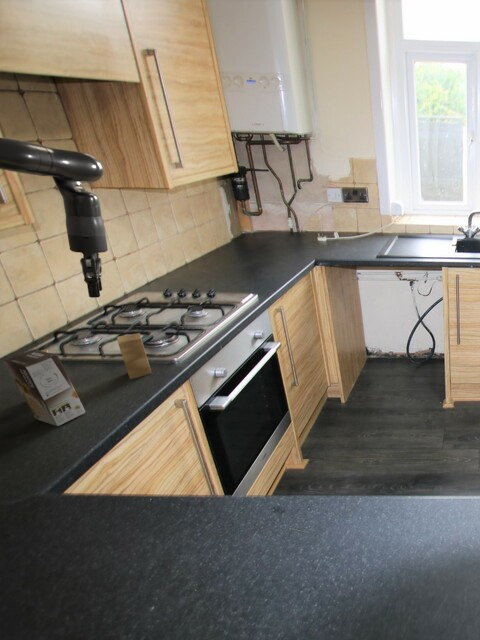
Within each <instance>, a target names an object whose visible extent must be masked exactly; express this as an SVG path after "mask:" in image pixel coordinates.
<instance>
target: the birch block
mask: <svg viewBox="0 0 480 640" xmlns="http://www.w3.org/2000/svg"><path fill="white" fill-rule="evenodd" d="M116 340H117V344H118V347H119V350H120V353H121V356H122V360H123V363H124V365H125V369H126V372H127V375H128V379H129V380H133V379H136V378H140V377H143V376H147V375H151V374H152V369H151V366H150V363H149V359H148V356H147V353H146V349H145V345H144V342H143V340H142V337H141V333H140V332H138V333H132V334H127V335H126V334H125V335H121V336H116Z"/></svg>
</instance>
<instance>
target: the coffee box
mask: <svg viewBox="0 0 480 640" xmlns="http://www.w3.org/2000/svg"><path fill="white" fill-rule="evenodd" d="M2 362H3V364H4V367H5V368H6V370H7V371H8V373H9V374H10V376H11V378H12V380H13V382H14V383H15V385H16V388H17V389H18V390H19V393H20V394H21V396H22V398H23V399H24V402H25V403H26V405H27V407H28V408H29V410H30V412H31V414H32V415H33V418H34V419H35V420H38V421H40V422H43V423H46V424H49V425H53V426H55V427H59V426H62V425H63V424H65V423H68V422H70V421H71V420H75V419H76V418H78V417H80V416H82V415H84V414H86V409H85V408H84V406H83V404H82V402H81V399H80V397H79V396H78V393H77V392H76V390H75V387H74V385H73V383H72V381H71V379H70V377H69V375H68V373H67V371H66V370H65V369H66V368H65V367H64V364H63V363H62V361H61V359H60V357H59V355H58V354H56V353H51V352H49V353H48V352H44V351H41V349H40V350H39V349H36V348H34V349H30V350H27V351H24V352H22V353H19V354H16V355H14V356H12V357H9V358H7V359H4V360H2Z"/></svg>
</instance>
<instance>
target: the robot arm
mask: <svg viewBox="0 0 480 640" xmlns="http://www.w3.org/2000/svg"><path fill="white" fill-rule="evenodd" d="M0 170H4V171H8V172H14V173H19V174H25V175H33V176H40V177H50V178H51V177H52V179H53V182H54V183H55V186H56V187H57V190H58V192H59V193H60V195H61V197H62V201H63V207H64V214H65V228H66V234H67V240H68V247H69V251H71V252H72V253H80V254H82V257H81V258H80V259H79V260H80V261H79V263H80V266H81V271H82V272H81V273H82V275H83V281H84V283H85V284H86V286H87V292H88V297H89V298H91V299H93V298H94V299H95V298H100V297H101V291H103V285H102V275H103V274H102V272H103V268H102V258H101V257H100V254H102V253H107V252H108V250H109V248H108V242H107V237H106V236H107V234H106V229H105V222H104V220H103V215H102V209H101V201H100V198H99V196H98V195H97V194H96V193H93V192H91V191H88V190H86V188H85V186H84V185H83V183H95V182H97V181H99V180H101V179H102V178H103V176H104V173H105V172H104V171H105V170H104V166H103V164H102V162H101V161H100V160H99V159H98V158H97V157H95V156H94V155H92V154H90V153H86V152H82V151H75V150H69V149H61V148H54V147H50V146H46V145H43V144H37V143H34V142H28V141H22V140H19V139H13V138H7V137H0Z"/></svg>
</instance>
